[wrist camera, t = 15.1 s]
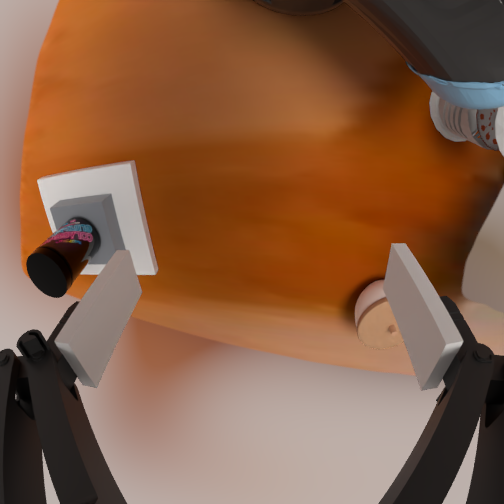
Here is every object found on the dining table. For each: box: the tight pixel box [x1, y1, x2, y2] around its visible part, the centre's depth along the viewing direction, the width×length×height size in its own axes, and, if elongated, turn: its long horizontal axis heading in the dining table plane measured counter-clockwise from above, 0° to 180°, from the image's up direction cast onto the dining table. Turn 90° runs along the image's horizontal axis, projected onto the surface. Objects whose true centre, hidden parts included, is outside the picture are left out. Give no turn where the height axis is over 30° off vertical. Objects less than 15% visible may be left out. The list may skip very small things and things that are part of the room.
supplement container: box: [26, 217, 100, 298], centre depth 36 cm, size 7×7×10 cm
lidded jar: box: [355, 280, 404, 349], centre depth 45 cm, size 11×11×9 cm
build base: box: [37, 160, 158, 275], centre depth 43 cm, size 18×18×4 cm
